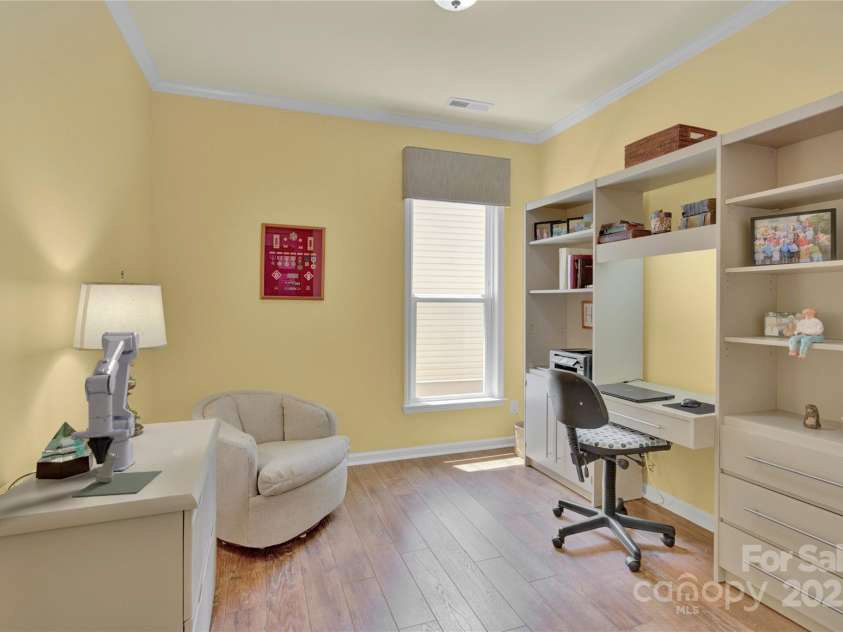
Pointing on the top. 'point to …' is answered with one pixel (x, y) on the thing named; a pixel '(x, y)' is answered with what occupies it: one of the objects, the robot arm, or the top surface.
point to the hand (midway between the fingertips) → (100, 463)
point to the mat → (119, 484)
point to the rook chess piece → (107, 468)
